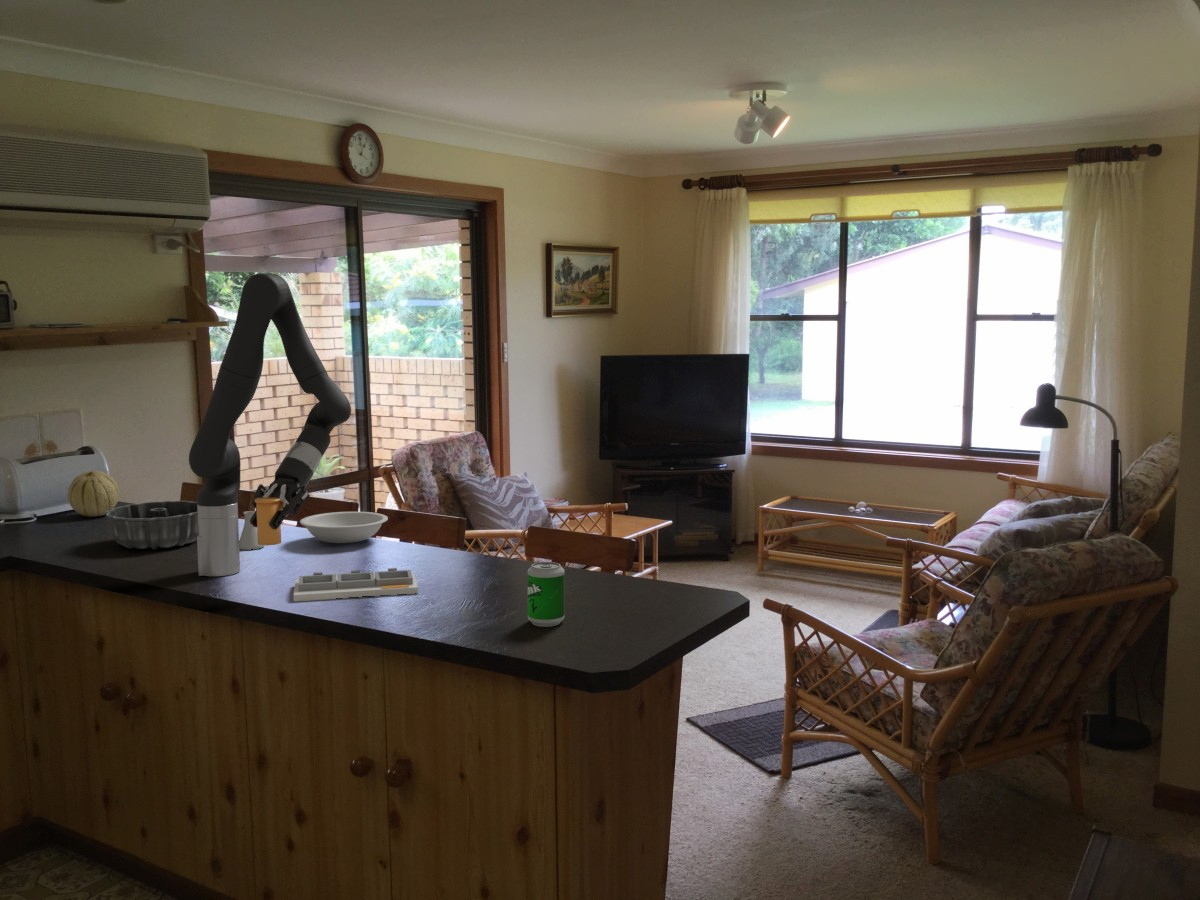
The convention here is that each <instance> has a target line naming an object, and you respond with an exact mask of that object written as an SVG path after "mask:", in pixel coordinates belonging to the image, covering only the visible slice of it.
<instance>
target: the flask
mask: <svg viewBox="0 0 1200 900" xmlns="http://www.w3.org/2000/svg"><path fill="white" fill-rule="evenodd" d="M255 511H256V510H247V511H243V515H244V524H243V529H242V531H241V535H240V536H239V551H240V550H242V551H243V550H246V551H250V550H251V549H253V550H260V549H259V548H261V549H263V548H265V547H264V546H266V545H258V537H257V527H253V526H252V524H251V523H250V519H251V517H252V516H253V514H254V512H255ZM262 547H263V548H262ZM251 551H252V550H251Z"/></svg>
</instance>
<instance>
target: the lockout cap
mask: <svg viewBox="0 0 1200 900" xmlns="http://www.w3.org/2000/svg"><path fill="white" fill-rule="evenodd" d="M280 501H281V499H279V497H262V498H257V499H255V502H256V509H255V511H257V537H258V545H265V546H275V545H276V546H277V545H279V544H282V529H281V527H282V524H281V525H280V526H279V527H278V528H277V529H276V530H275V529H272V528H271V527H270V526H269V523H270V521H271V519H272V518H273V516H274V514H275V513H276V511H279V510H278V509H279V504H280Z"/></svg>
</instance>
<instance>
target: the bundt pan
mask: <svg viewBox="0 0 1200 900" xmlns="http://www.w3.org/2000/svg"><path fill="white" fill-rule="evenodd" d="M105 516H106V518H108V522H109V525H110V529H111V534H112V537H113V539H114V540H115V542H116V543H117V544H119V545H120V546H123V547H125V548H127V549H130V550H134V549H133V548H136V549H139V550H147V549H151V550H153V551H156V550H157V549H159V548H162V549H170V548H173V547H176V546H181V547H183V546H184V545H188V544H191V543H193V542H195V541H196V542H197V537H198V514H197V501H190V500H173V501H172V500H162V501H147V502H145V501H144V502H139V503H133V504H132V503H130V504H127V505H122V506H115V507H114V508H113V509H112V510H110V511H106V514H105ZM155 549H156V550H155Z"/></svg>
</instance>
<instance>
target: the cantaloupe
mask: <svg viewBox="0 0 1200 900" xmlns="http://www.w3.org/2000/svg"><path fill="white" fill-rule="evenodd" d="M119 499H120V488H119V485H118V483H117V481H116V480H115V479H114V478H113V477H112V476H111V475H109V474H108V473H106V472H104V471H101V470H94V471H93V470H90V471H86V472H82V473H81V474H79V475H77V476H76V477H75V478H73V480H72V481H71V483H70V484H69V487H68V489H67V500H68V503H69V506H70V507H71V508H72V510H74V511H75V513H77V514H80V515H81V516H84V517H88V518H89V517H90V518H92V517H93V518H96V517H100V516H101V517H102V516H104V515H106V511H110V510H112V509H113V508H116V507H117V506H116V505H117V504H118V501H119Z"/></svg>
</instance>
